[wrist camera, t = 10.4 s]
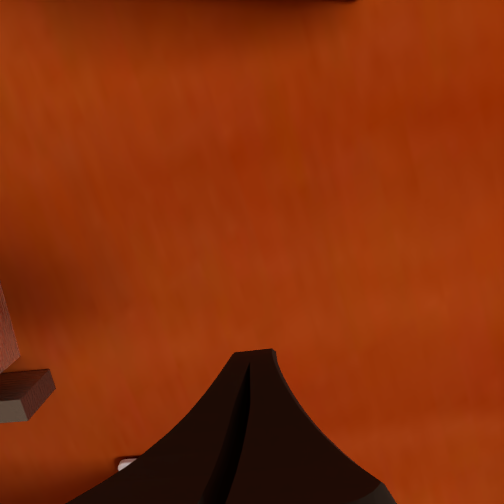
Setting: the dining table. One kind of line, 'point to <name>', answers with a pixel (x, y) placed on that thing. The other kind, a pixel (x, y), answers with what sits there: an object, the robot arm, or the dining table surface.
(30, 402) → the dock
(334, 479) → the robot arm
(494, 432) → the dining table surface
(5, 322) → the block
